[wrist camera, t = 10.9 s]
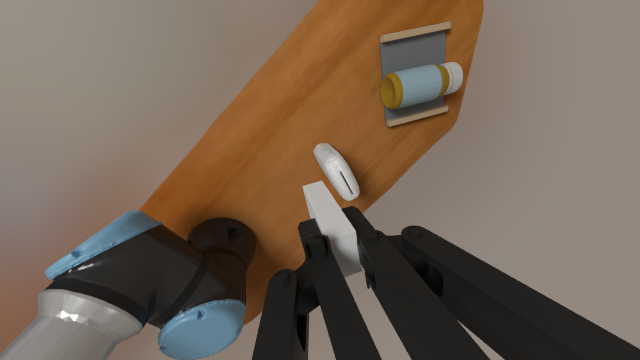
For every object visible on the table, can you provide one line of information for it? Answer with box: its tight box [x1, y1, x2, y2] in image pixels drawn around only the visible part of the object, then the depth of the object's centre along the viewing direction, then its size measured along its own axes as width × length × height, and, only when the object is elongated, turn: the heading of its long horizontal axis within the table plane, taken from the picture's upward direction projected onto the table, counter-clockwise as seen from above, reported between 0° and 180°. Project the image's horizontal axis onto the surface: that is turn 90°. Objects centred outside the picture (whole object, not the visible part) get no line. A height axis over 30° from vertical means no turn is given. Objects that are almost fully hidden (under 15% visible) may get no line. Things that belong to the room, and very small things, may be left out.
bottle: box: [380, 62, 463, 110], centre depth 49 cm, size 7×7×15 cm
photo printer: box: [313, 143, 360, 201], centre depth 49 cm, size 10×4×12 cm, turn 29°
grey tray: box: [379, 21, 451, 127], centre depth 51 cm, size 15×18×2 cm
